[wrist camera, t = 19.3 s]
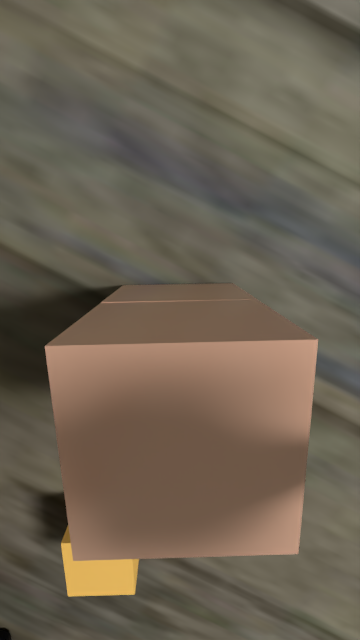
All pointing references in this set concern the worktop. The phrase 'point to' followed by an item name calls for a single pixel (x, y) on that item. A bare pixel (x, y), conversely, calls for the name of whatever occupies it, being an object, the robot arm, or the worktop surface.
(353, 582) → the worktop surface
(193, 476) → the pink rectangular prism
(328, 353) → the worktop surface
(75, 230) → the worktop surface
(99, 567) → the cube
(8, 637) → the robot arm
